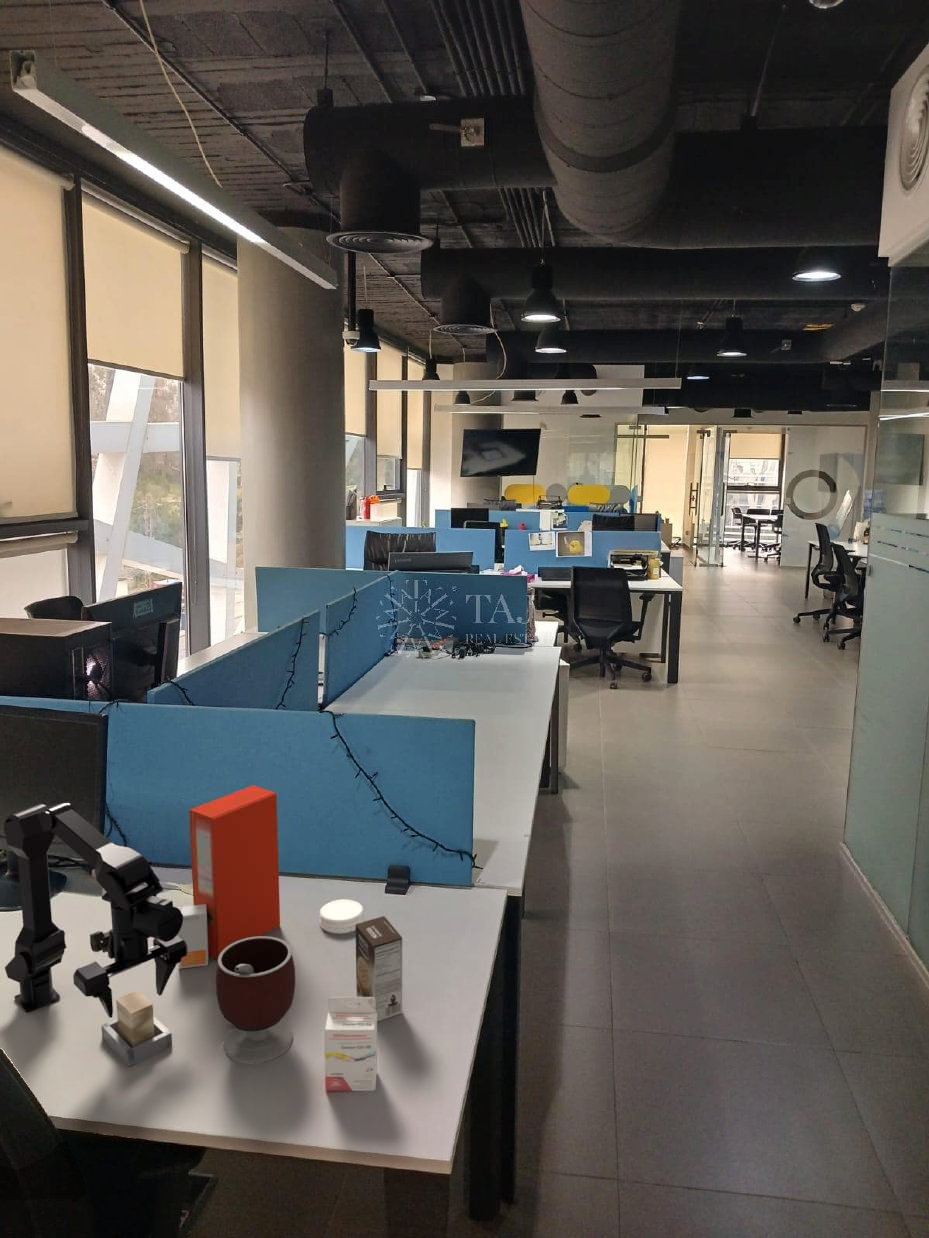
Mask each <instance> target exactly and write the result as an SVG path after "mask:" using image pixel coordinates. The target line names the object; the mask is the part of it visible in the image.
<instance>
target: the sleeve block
mask: <svg viewBox="0 0 929 1238" xmlns="http://www.w3.org/2000/svg"><path fill="white" fill-rule="evenodd" d="M115 1001H116V1002H115V1003H116V1004H115V1005H116V1014H117V1015H116V1016H117V1018H118V1032H119V1034H118V1035H119V1036H120V1037H121V1038H122V1039H123V1040H124V1041H125V1042H126V1043H127V1044H128V1045H129V1046H130V1047H131V1048H133V1047H135V1046H137V1045H139V1044H141V1043H144V1042H146V1041H148V1040H150V1039H152V1038H154V1037H155V1034H154V1019H153V1016H154V1007H153V1006H154V1005H153V1003H152V1002H151V1001H150V1000H149V999H148V998H147V997H146V996H145V995H143V994H142V992H141V991H139V990H138V989H136V990H134V991H131V992H130V993H127V994H124V995H123V996H121V997H119V998H116V999H115ZM117 1018H116V1019H117Z"/></svg>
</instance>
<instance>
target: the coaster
mask: <svg viewBox="0 0 929 1238" xmlns="http://www.w3.org/2000/svg"><path fill="white" fill-rule="evenodd" d="M364 915H365V914H364V907H363V906H362V904H361V903H360V902H358V901H356V900H352V899H336V900H332V901H330V902H328V903H326V904H325V905H323V906H322V907H321V908H320V910H319V925H320V927H321V929H322V930H323V931H325V932H327V933H329V934H338V935H343V933H344V934H348V933H352V932H356V926H355V925H356V924H359V923H362V922H365V919H364ZM351 931H352V932H351Z"/></svg>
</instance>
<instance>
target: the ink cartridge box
mask: <svg viewBox="0 0 929 1238" xmlns="http://www.w3.org/2000/svg"><path fill="white" fill-rule="evenodd" d="M352 1002H353V1003H355V1004H359V1005H345V1004H350V1003H352ZM377 1032H378V1021H377V1013H376V999H375V998H374V997H357V996H330V997H328V1012H327V1015H326V1022H325V1028H324V1057H325V1058H324V1072H325V1073H324V1074H325V1075H324V1077H325V1079H324V1080H325V1083H324V1084H325V1085H324V1086H325V1092H338V1091H339V1092H361V1091H362V1092H373V1091H375V1092H376V1088H377V1087H376V1086H377V1075H378V1074H377V1073H378V1033H377Z"/></svg>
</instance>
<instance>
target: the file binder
mask: <svg viewBox="0 0 929 1238" xmlns="http://www.w3.org/2000/svg"><path fill="white" fill-rule="evenodd" d="M277 794H278V793H276V792H274V791H271V790H268V789H265V788H262V787H259V786H257V785H251V786H248V787H245V788H243V789H239V790H237V791H234V792H233V793H230V794H227V795H225V796H222V797H220V798H219V797H218V798H217V799H213V800H211V801H209V802H206V803H204V804H202V805H201V804H200V805H198V806H196V807H193V808H190V809H189V810H188V812H189V813H188V814H189V834H190V835H189V837H190V854H191V856H190V857H191V858H190V859H191V875H192V876H191V877H192V897H193V905H203V904H206V905H207V930H208V957H211V958H213V959H215V960H217V961H218V957H219V955H220V953H221V952H222V951H223V950H224V949H225V948H226V947H227V946H229V945H230V944H232V943H234V942H236V941H239V940H242V939H245V938H250V937H257V936H264V935H266V934H267V932H268V933H270V932H271V931H273V930H275V929H276V927H277V928H278V927H280V925H281V913H280V912H281V909H280V908H281V906H280V904H281V903H280V875H279V874H280V873H279V872H280V870H279V837H278V836H279V835H278V834H279V833H278V805H277V803H278V798H277V797H278V795H277ZM274 928H275V929H274ZM263 934H264V935H263Z"/></svg>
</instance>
